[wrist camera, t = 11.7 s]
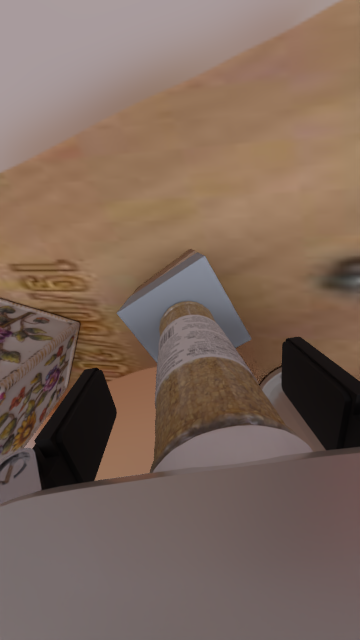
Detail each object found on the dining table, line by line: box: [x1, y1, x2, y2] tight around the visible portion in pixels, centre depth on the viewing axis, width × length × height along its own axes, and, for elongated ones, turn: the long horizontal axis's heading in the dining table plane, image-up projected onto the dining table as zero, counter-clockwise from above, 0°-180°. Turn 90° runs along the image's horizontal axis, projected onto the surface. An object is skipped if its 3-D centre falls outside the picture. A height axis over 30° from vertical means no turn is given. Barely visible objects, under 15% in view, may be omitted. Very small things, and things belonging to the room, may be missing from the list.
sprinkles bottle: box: [150, 301, 313, 473], centre depth 10 cm, size 5×5×14 cm
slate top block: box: [117, 253, 251, 362], centre depth 19 cm, size 8×8×5 cm
